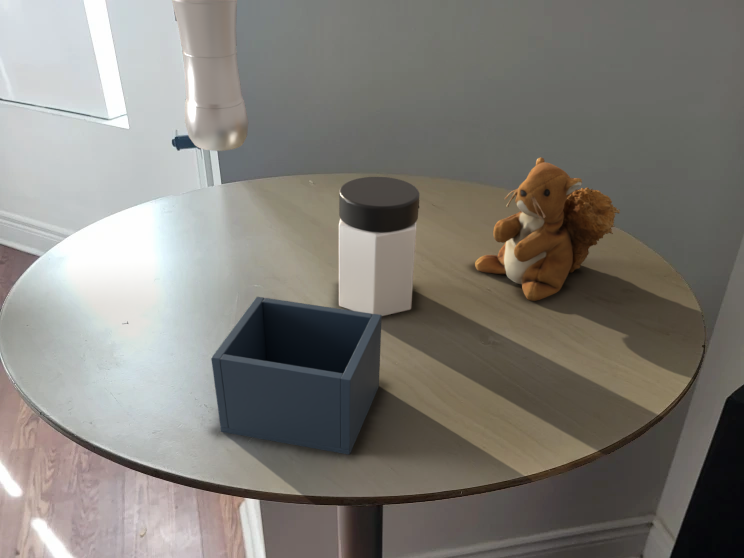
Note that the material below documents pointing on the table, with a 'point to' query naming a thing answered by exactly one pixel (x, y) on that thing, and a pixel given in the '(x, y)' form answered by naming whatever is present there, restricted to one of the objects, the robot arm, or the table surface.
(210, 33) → the silver metal bottle
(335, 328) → the bin
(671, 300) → the table surface
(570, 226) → the stuffed squirrel
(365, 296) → the jar
